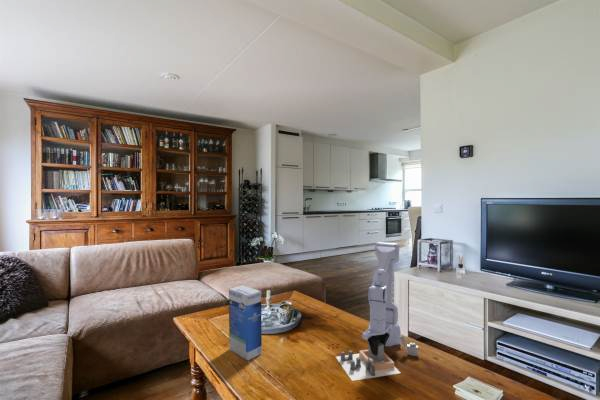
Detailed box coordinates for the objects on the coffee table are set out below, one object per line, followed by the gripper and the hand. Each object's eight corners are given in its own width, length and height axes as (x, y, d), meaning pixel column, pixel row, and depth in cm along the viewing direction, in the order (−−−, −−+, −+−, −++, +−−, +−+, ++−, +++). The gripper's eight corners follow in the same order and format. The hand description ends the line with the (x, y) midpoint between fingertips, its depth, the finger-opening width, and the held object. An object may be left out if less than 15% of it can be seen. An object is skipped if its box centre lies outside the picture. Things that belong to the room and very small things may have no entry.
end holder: (379, 352, 122) (379, 347, 122) (394, 367, 112) (394, 362, 112) (359, 355, 120) (359, 350, 120) (372, 371, 109) (372, 365, 109)
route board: (378, 352, 124) (378, 343, 124) (400, 375, 108) (401, 364, 108) (335, 358, 119) (335, 349, 119) (352, 383, 104) (352, 372, 104)
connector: (373, 354, 118) (373, 336, 118) (383, 360, 114) (383, 341, 114) (368, 356, 117) (368, 338, 117) (378, 362, 113) (378, 344, 112)
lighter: (417, 356, 121) (417, 336, 121) (418, 358, 120) (418, 338, 120) (399, 353, 124) (399, 333, 123) (399, 355, 122) (399, 335, 122)
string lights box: (262, 354, 123) (262, 291, 122) (247, 361, 117) (247, 295, 117) (242, 343, 132) (242, 284, 131) (227, 349, 126) (227, 288, 126)
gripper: (382, 310, 122) (381, 343, 122) (356, 318, 114) (356, 354, 114) (396, 315, 116) (396, 350, 116) (370, 325, 108) (370, 362, 108)
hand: (377, 352), depth 115 cm, fingers closed on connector, 3 cm apart
